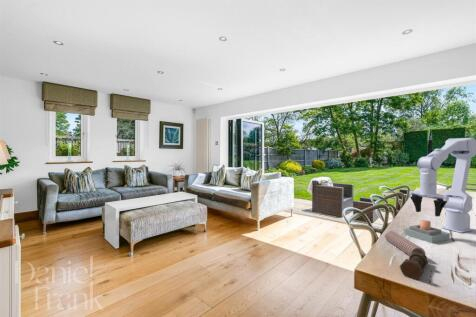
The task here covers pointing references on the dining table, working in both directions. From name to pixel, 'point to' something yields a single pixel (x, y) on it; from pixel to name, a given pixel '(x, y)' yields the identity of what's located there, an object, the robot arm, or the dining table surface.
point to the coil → (403, 243)
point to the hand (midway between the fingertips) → (427, 213)
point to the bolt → (414, 265)
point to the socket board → (427, 234)
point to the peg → (425, 224)
